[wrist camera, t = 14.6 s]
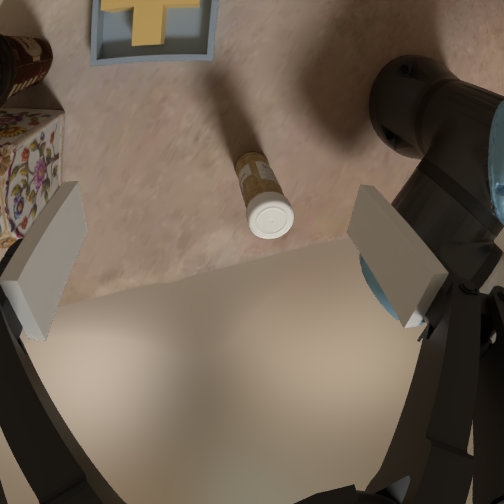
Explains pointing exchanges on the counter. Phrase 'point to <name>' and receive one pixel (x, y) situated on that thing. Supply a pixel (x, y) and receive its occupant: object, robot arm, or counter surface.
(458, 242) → the robot arm
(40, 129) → the decorative jar
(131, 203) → the counter surface
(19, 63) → the coffee cup
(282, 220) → the sprinkles bottle
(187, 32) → the tray
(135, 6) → the collar
